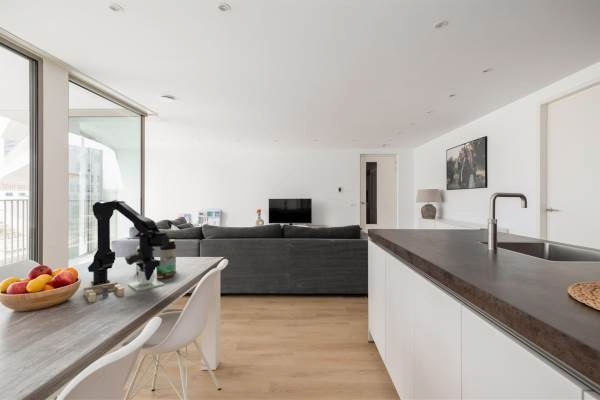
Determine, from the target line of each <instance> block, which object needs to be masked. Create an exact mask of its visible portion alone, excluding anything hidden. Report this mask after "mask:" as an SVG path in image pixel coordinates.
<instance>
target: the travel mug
mask: <svg viewBox="0 0 600 400" xmlns="http://www.w3.org/2000/svg"><path fill="white" fill-rule="evenodd" d="M176 246H177V245H176V239H172V238H171V239H170V238H169V244H168V246H167V247H159V248H160V249H159V253H160V254H159V259H160V260H163V259H168V258H170V256H174V257H175V258H176V259H177V247H176ZM176 263H177V261H176V262H175V264H174V273H175V272H176V271H177V270H176V269H177V265H176Z"/></svg>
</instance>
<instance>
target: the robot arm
mask: <svg viewBox="0 0 600 400" xmlns="http://www.w3.org/2000/svg"><path fill="white" fill-rule="evenodd" d="M114 211H118V212H119V213H120V214H122V216H124V217H125V218H126V219H128V221H130V222H131V223H132V224H133V227H134V228H135V229H136V230H137V231H138V233H137V234H136V235H134V237H135V238H139V241H138V242H139V244H138V246H139V249H138V250H137V252H134V253H131V254H129V255H128V256H125V257H124V259H125V262H126V264H127V265H129V266H131V265H133V264H134V263H135V265H137V266H139V267H140V270H141V269H144V270H145V274H146V280H147V281H148V280H150V278H151V276H152V274H153V272H154V273H155V270H156V267H157V266H160V261H158V259H156V258H155V256H154V251H155V248H160V247H167V246H168V244H169V239H170V238H169V235H167V232H161V231H160V230H159V228H158V226H157V225H156V222H155V221H154V220H153V219H151V218H149V217H146V216H143V215H141V214H140V213H139V212H137V211H136V210H135V209H134V208H132V207H131V206H130V205H128V204H127V203H126V202H125V201H124V200H123V199H114V200H112V201H96V202H94V204H93V205H92V212H93V213H92V215H93V216H94V218H95V219H96V221H97V250H96V252H95V253H94V255H93V261H92V262H91V263H90V264H89V266H88V267H87V270H88V273H92V275H93V276H92V277H93V278H92V281H90V283H91V284H92V285H93V286H97V285H102V284H108V283H111V282H110V280H109V279H108V270H109V269H112V268H113V265H114V264H115V260H116V259H117V258H116V252H115V251H113V250H112V249H111V228H110V227H111V225H110V224H111V221H110V220H111V218H112V217H113V215H114ZM154 247H155V248H154ZM136 262H137V263H136Z"/></svg>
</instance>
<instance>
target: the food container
mask: <svg viewBox="0 0 600 400" xmlns="http://www.w3.org/2000/svg"><path fill="white" fill-rule="evenodd" d="M176 259H177V257H176V258H175V257H174V256H170V258H168V259H163V260H158V259H157V260H158V261H160V266H157V267H156V268H155V270H156V280H167V279H171V278H173V277H174V273H175V272H174V264H175V262H176V263H177V260H176Z"/></svg>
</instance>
